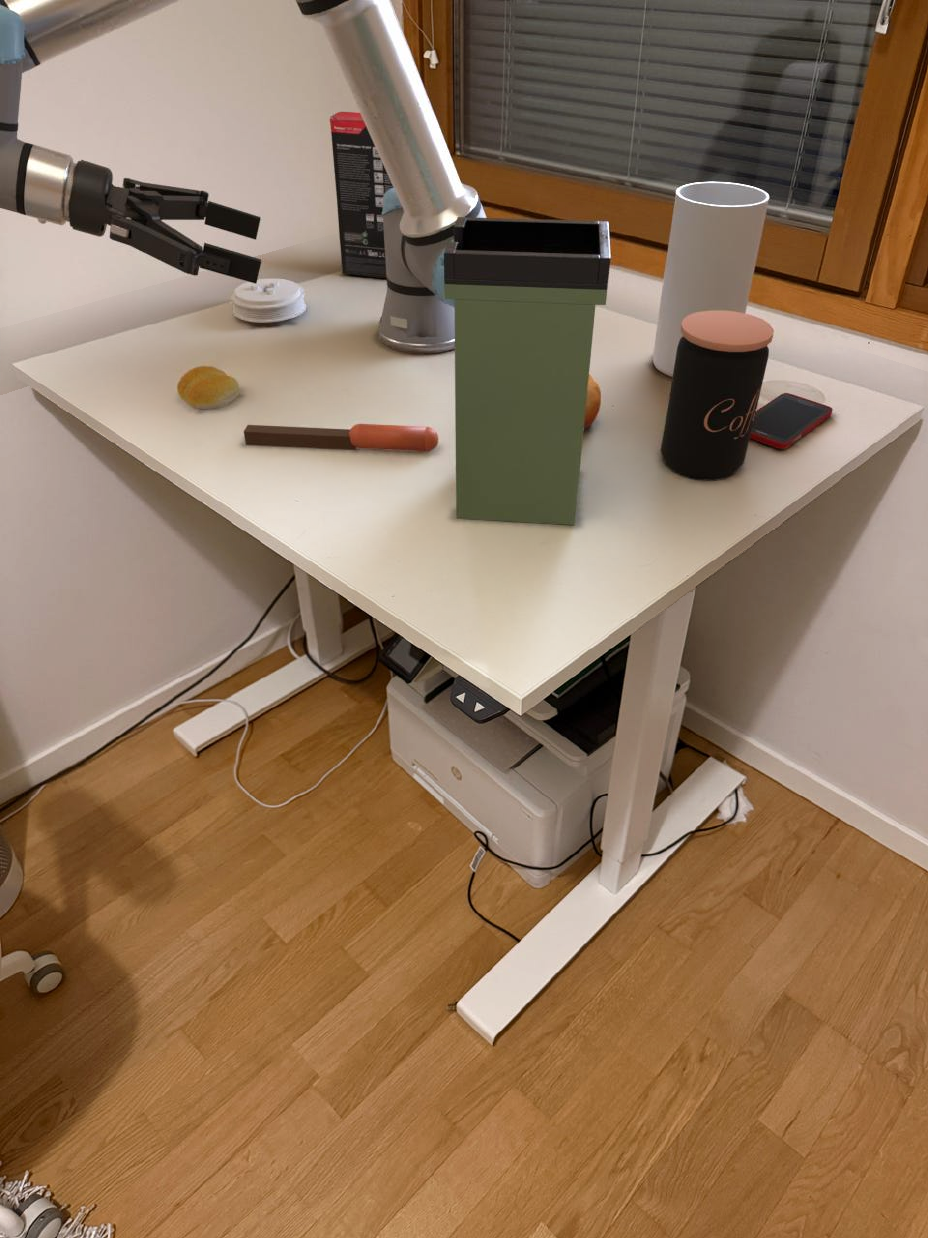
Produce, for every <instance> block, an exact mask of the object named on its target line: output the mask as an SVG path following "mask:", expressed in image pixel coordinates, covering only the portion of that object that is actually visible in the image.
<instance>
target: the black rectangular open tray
mask: <svg viewBox="0 0 928 1238" xmlns="http://www.w3.org/2000/svg"><path fill="white" fill-rule="evenodd" d="M610 243H611V242H610V229H609V221H607V220H605V221H602V220H601V221H599V220H571V219H570V220H569V219H536V218H509V217H508V218H505V217H502V218H501V217H499V218H498V217H486V218H474V217H458V218H457V220H456V223H455V225H454V242H448V243H447V246H446V249H445V251H444V284H460V285H487V286H515V287H542V288H570V289H598V290H607V291H608V288H609V277H610V270H611V269H610V267H611V258H612V257H611V245H610Z"/></svg>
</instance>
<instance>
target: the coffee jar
mask: <svg viewBox="0 0 928 1238" xmlns="http://www.w3.org/2000/svg"><path fill="white" fill-rule="evenodd" d="M774 331H775V330H774V328H773V327H772V325H771V324H770V323H769V322H767V321H766V320H764V319H762V318H760V317H759V316H758V317H757V316H755V315H752V314H749V313H746V312H745V313H741V312H735V311H725V310H710V311H702V312H697V313H694V314H691V315H688V316H687V317H686V318H684V319H683V321H682V324H681V333H682V335H683V336H682V337H681V338H680V340H679V343H678V346H677V352H676V358H675V365H674V371H673V377H671V383H670V390H669V395H668V402H667V409H666V415H665V421H664V428H663V433H662V439H661V444H660V445H661V447H660V453H661V456H662V459H663V462H665V465H666V466H667V467H668V468H669V469H670V470H671V471H672V472H674V473H676V474H678V475H680V476H683V477H685V478H688V479H692V480H697V481H698V480H699V481H719V480H723V479H726V478H728V477H731V476H733V475H734V474H735V473H736V472H738V470H740V469H741V467H742V466H743V465H744V463H745V460H746V455H747V451H748V447H749V442H750V439H751V438H750V434H751V430H752V426H753V421H754V417H755V413H756V411H757V409H758V403H759V400H760V395H761V391H762V387H763V382H764V379H765V374H766V369H767V365H768V361H769V355H770V350H769V349H770V348H769V346H768V345H770V343H772V341H773V338H774V333H775V332H774Z"/></svg>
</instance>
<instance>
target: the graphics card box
mask: <svg viewBox="0 0 928 1238" xmlns="http://www.w3.org/2000/svg"><path fill="white" fill-rule="evenodd" d="M329 125H330V134H331V146H332V158H333V160H332V161H333V170H334V171H333V172H334V182H335V183H334V184H335V195H336V206H337V207H336V208H337V221H338V234H339V235H338V236H339V245H340V247H339V248H340V258H341V259H340V260H341V270H342V274H343V275H344V274H345V275H352V276H361V277H370V278H371V277H372V278H380V279H387V275H386V259H385V243H384V227H383V217H382V211H383V196H384V194H385V192H386V191H388V190H389V189H392V188H394V187H393V185H392V183H391V180H390V178H389V176H388V174H387V171H386V169H385V167H384V165H383V163H382V160H381V158H380V156H379V154H378V151H377V149H376V147H375V145H374V142H373V140H372V138H371V136H370V133H369V131H368V129H367V127H366V124H365V122H364V120H363V118H362V115H361V113H360V112H355V111H354V112H353V111H339V112H336V113H334V114H332V115H330V118H329Z"/></svg>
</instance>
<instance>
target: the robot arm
mask: <svg viewBox="0 0 928 1238" xmlns="http://www.w3.org/2000/svg"><path fill="white" fill-rule="evenodd" d="M178 2H182V0H0V209H2V210H6V211H10V212H13V213H17V214H20V215H23V216H26V217H32V218H34V219H37V221H38V223H39V224H41V225H44V224H46V223H47V222H48V223H52V224H55V225H57V226H58V225H59V226H64V225H66V223H69V226H70V228H72V230H74V231H77V232H82V233H85V234H89V235H91V236H96V237H103V236H105V233H106V231H107V227H108V226H109V227H110V230H109V239H111V240H112V241H115V242H117V243H120V244H124V245H127V246H130V247H132V248H133V249H136V250H138V251H139V252H141V253H144V254H146V255H148V256H150V257H152V258H154V259H156V260H158V261H160V262H162V263H164V264H165V265H168V266H170V267H172V268H175V269H176V270H178V271H181V272H183V274H184V273H185V274H187V275H191V276H198V275H199V272H200V269H202V270H207V271H210V272H213V273H216V274H220V275H223V276H227V277H231V278H234V279H238V280H241V281H245V282H251V283H255V284H256V283H257V280H259V279H258V278H259V273H260V269H261V265H262V259H260V258H257V257H256V256H255V257H254V256H251V255H248V254H244V253H241V252H237V251H234V250H230V249H227V248H224V247H220V246H218V245H213V244H210V243H207V242H204V243H203V246H202V245H201V244H199V243H197V242H195V241H194V240H192V239H191V238H189V237H188V236H186V235H185V234H183V233H182V232H180V231H178V230H177V229H175V228H173V226H170V225H169V224H167V222H164V221H204V225H205V226H209V227H212V228H215V229H219V230H222V231H226V232H229V233H232V234H236V235H237V236H242V237H245V238H248V239H252V240H255V241H256V240H257V237H258V232H259V229H260V224H261V220H262V219H261V216H258V215H255V214H252V213H249V212H245V211H242V210H240V209H236V208H234V207H230V206H227V205H223V204H220V203H218V202H214V201H210V200H209V197H210V196H209V194H210V193H209V192H208V191H205V190H199V189H191V188H184V187H179V186H178V187H177V186H170V185H163V184H158V183H150V182H144V181H139V180H136V179H132V178H130V177H123V179H122V186H121V187H120V186H116V185H114V184H113V180H114V174H113V171H112V170H111V169H110V168H109V167H107V166H103V165H101V164H97V163H94V162H91V161H88V160H84V159H81V160H77V162H76V163H75V162H74V158H73V157H72V156H71V155H70V154H66V153H63V152H60V151H56V150H55V149H54V150H53V149H50V148H46V147H43V146H40V145H37V144H33V143H29V142H25V141H24V140H21V139H19V138H18V131H19V115H20V114H19V113H20V104H21V103H20V102H21V91H22V78H23V74H24V73H26V72H29V71H30V70H33V69H34V68H36V67H38V66H40V65H41V64H44V63H46V62H48V61H50V60H53V59H55V58H57V57H59V56H62V55H64V54H66V53H68V52H70V51H72V50H74V49H77V48H80V47H81V46H83V45H86V44H88V43H90V42H92V41H95V40H96V39H97V40H98V39H99V38H101V37H103V36H106V35H107V34H108V35H109V34H110V33H112V32H114V31H116V30H119V29H121V28H123V27H125V26H128V25H129V24H132V23H134V22H136V21H139V20H141V19H143V18H145V17H148V16H150V15H152V14H154V13H157V12H159V11H161V10H163V9H166V8H167V7H170V6H172V5H174V4H177V3H178ZM295 2H296V4H297V6H298V8H299V11H300V13H301V15H302V17H303V18H304V19H307V20H309V21H312V22H313V23H316V24H318V25H319V26H320V27H321V28H322V30H323V32H324V35H325V37H326V40H327V42H328V44H329V46H330V49H331V51H332V53H333V55H334V57H335V59H336V62H337V64H338V66H339V68H340V71H341V73H342V76H343V77H344V80H345V82H346V84H347V87H348V89H349V90H350V93H351V95H352V97H353V99H354V102H355V105H356V108H357V109H358V111H359V113H361V115H362V118H363V120H364V122H365V124H366V127H367V129H368V131H369V133H370V136H371V138H372V140H373V142H374V145H375V147H376V149H377V151H378V154H379V156H380V158H381V160H382V163H383V165H384V167H385V169H386V171H387V174H388V176H389V178H390V180H391V183H392V185H393V187H394V188H392V189H389V190H388V191H386V192H385V194H384V196H383V211H382V217H383V227H384V243H385V259H386V275H387V278H386V294H385V299H384V302H383V308H382V313H381V316H380V318H379V321H378V339H379V341H380V342H381V343H382V344H383V345H384V346H386V347H388V348H390V349H392V350H395V351H398V352H404V353H409V354H436V353H443V352H447V351H451V350H455V306H454V300H455V299H445V298H444V251H445V249H446V246H447V243H448V242H454V225H455V223H456V220H457V218H458V217H474V218H487V215H486V212H485V210H484V207H483V204H482V202H481V200H480V197H479V194H478V192H477V190H476V188H474V187H472V186H470V185H467V184H465V183H462V182H461V179H460V176H459V174H458V171H457V167H456V166H455V163H454V161H453V158H452V155H451V152H450V150H449V148H448V145H447V143H446V140H445V137H444V134H443V132H442V130H441V126H440V124H439V122H438V119H437V117H436V114H435V112H434V108H433V106H432V103H431V101H430V98H429V96H428V93H427V90H426V88H425V85H424V83H423V80H422V77H421V75H420V72H419V70H418V67H417V65H416V62H415V59H414V57H413V54H412V51H411V49H410V46H409V44H408V42H407V39H406V36H405V34H404V31H403V29H402V26H401V23H400V21H399V18H398V15H397V14H396V11H395V8H394V5H393V3H392V0H295Z"/></svg>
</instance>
